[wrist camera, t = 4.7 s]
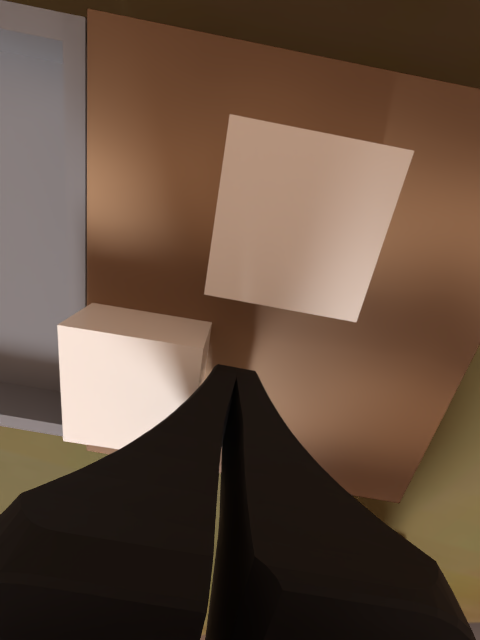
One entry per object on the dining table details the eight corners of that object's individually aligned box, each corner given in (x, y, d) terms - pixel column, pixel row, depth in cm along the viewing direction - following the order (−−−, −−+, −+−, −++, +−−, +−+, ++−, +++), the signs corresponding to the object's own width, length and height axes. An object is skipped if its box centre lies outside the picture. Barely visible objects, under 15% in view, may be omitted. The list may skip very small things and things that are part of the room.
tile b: (337, 299, 10) (356, 322, 8) (213, 276, 10) (203, 294, 8) (379, 161, 9) (414, 150, 7) (234, 133, 8) (229, 114, 7)
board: (373, 449, 16) (399, 503, 13) (117, 404, 15) (86, 450, 13) (507, 135, 11) (596, 113, 8) (131, 60, 10) (87, 8, 8)
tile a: (198, 419, 12) (188, 460, 10) (93, 403, 12) (63, 440, 10) (212, 322, 10) (203, 348, 9) (92, 302, 10) (57, 324, 8)
